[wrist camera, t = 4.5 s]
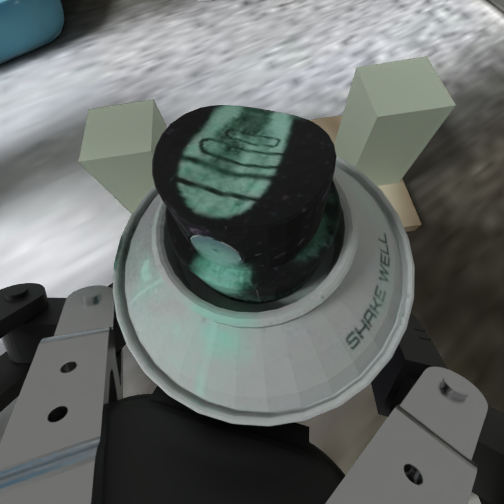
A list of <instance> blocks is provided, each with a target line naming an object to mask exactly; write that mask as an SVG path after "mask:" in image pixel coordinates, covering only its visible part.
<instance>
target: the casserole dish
mask: <svg viewBox="0 0 504 504" xmlns="http://www.w3.org/2000/svg"><path fill="white" fill-rule="evenodd" d="M63 25H64V12H63V8H62V4H61V1H60V0H0V64H1V63H4V62H6V61H9V60H11V59H13V58H16V57H18V56H21V55H23V54H26V53H28V52H30V51H33V50H35V49H37V48H39V47H42V46H44V45H46V44H48V43H50V42H51V41H53V40H54V39H56V38H57V37H58V36H59V35H60V33H61V31H62V28H63Z"/></svg>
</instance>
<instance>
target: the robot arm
mask: <svg viewBox="0 0 504 504" xmlns="http://www.w3.org/2000/svg"><path fill="white" fill-rule="evenodd" d="M0 338H2V340H3V343H4V346H5V348H6V351H7V352H5V353H4V354H2V355H1V356H0V412H1V411H2V410H3V409H4V408H5V407H7V406H8V405H9V404H10V403H11V402H12V401H13V400H14V399H15V398H17V397H18V396H19V397H18V400H17V402H16V405H15V407H14V410H13V412H12V415H11V418H10V420H9V423H8V425H7V428H6V430H5V433H4V435H3V438H2V441H1V443H0V504H468V502H469V498H470V495H471V492H473V493H475V494H476V495H478V497H479V499H480V501H481V504H504V413H502V412H500V411H498V410H496V409H493V408H491V407H489V406H488V404H487V401H486V399H485V398H484V396H483V395H482V393H481V392H480V391H479V390H478V389H477V388H476V387H475V386H474V385H473V384H472V383H471V382H469V381H468V380H467V379H465V378H464V377H462V376H460V375H459V374H457V373H455V372H453V371H451V370H449V369H448V368H447V366H446V364H445V363H444V361H443V359H442V358H441V356H440V354H439V353H438V351H437V349H436V348H435V346H434V344H433V343H432V342H431V341H430V340H431V339H430V338H429V336H428V334H427V333H425V329H424V327H423V326H422V324H421V322H420V321H419V320H418V319H417V318H416V317H415V316H414V315H412V314H411V313H410V317H409V321H408V325H407V329H406V331H405V333H404V335H403V337H402V339H401V341H400V343H399V345H398V347H397V348H396V350H395V352H394V354H393V356H392V358H391V359H390V361H389V362H388V363H387V364H386V365H385V366H384V368H383V369H382V370H381V371H380V372H379V374H378V375H377V376H376V377H375V378H374V379H373V381H372V382H371V384H372V389H373V393H374V397H375V401H376V406H377V410H378V414H380V415H384V416H387V417H388V418H387V419H386V421H385V422H384V423H383V425H382V426H381V428H380V429H379V430H378V432H377V433H376V434H375V436H374V437H373V439H372V440H371V441H370V443H369V444H368V446H367V447H366V448H365V450H364V451H363V452H362V454H361V455H360V457H359V458H358V459H357V461H356V462H355V463H354V465H353V466H352V468H351V469H350V470H349V472H348V473H347V474H346V476H345V474H344V473H343V472H342V470H341V469H340V468H339V467H338V466H337V465H336V464H335V463H334V461H333V460H331V459H330V458H329V457H328V456H327V455H326V454H325V453H324V452H323V451H321V450H320V449H319V448H317V447H316V446H315V445H313V444H312V443H310V442H309V427H308V426H304V425H301V424H298V423H294V422H293V423H287V424H281V425H275V426H257V425H242V424H232V423H228V422H225V421H222V420H219V419H215V418H212V417H209V416H206V415H202V414H199V413H197V412H195V411H194V410H192V409H190V408H189V407H187V406H185V405H184V404H182V403H180V402H178V401H177V400H175V399H173V398H172V397H170V396H168V395H167V394H166V393H165V392H164V391H163V390H162V389H161V388H160V387H159V386H157V387H156V389H155V390H154V392H153V394H142V395H135V396H130V397H126V398H123V347H124V346H125V345H126V342H125V339H124V336H123V334H122V331H121V328H120V326H119V323H118V320H117V316H116V309H115V303H114V296H113V283H112V284H111V285H109V286H108V287H107V286H89V287H85V288H82V289H79V290H77V291H75V292H73V293H72V294H70V295H69V296H68V297H67V298H47V295H46V291H45V288H44V287H43V286H42V285H40V284H35V283H25V284H18V285H13V286H10V287H6V288H4V289H1V290H0Z"/></svg>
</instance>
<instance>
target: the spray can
mask: <svg viewBox="0 0 504 504" xmlns="http://www.w3.org/2000/svg"><path fill="white" fill-rule="evenodd" d="M152 176H153V180H154V184H155V185H154V186H153V187H152V188H151V189H150V190H149V191H148V192H147V193H146V195H145V196H144V197H143V199H142V200H141V202H140V203H139V205H138V206H137V207H136V209H135V210H134V212H133V213H132V215H131V217H130V219H129V221H128V223H127V225H126V228H125V230H124V232H123V234H122V236H121V239H120V243H119V247H118V251H117V254H116V258H115V262H114V276H113V296H114V303H115V309H116V316H117V320H118V323H119V326H120V328H121V331H122V334H123V336H124V339H125V342H126V344H127V347H128V348H129V350H130V351H131V353H132V354H133V356H134V357H135V359H136V360H137V362H138V363H139V365H140V367H141V368H142V370H143V371H144V373H145V374H146V375H147V376H148V377H150V378H151V379H152V380H153V381H154V382H155V383H156V384H157V385H158V386H159V387H160V388H161V389H162V390H163V391H164V392H165V393H166V394H167V395H168V396H170V397H172V398H173V399H175V400H177V401H178V402H180V403H182V404H184V405H185V406H187V407H189V408H190V409H192V410H194V411H195V412H197V413H199V414H202V415H206V416H209V417H212V418H215V419H219V420H222V421H225V422H228V423H232V424H242V425H257V426H275V425H281V424H287V423H293V422H299V421H305V420H308V419H310V418H313V417H315V416H317V415H320V414H322V413H324V412H327V411H329V410H332V409H334V408H336V407H339V406H341V405H342V404H343V403H345V402H346V401H347V400H349V399H350V398H352V397H353V396H354V395H356V394H357V393H358V392H360V391H361V390H362V389H364V388H365V387H367V386H368V385H369V384H370V383H371V382H372V381H373V379H374V378H375V377H376V376H377V375H378V374H379V372H380V371H381V370H382V369H383V368H384V366H385V365H386V364H387V363H388V362H389V361H390V359H391V358H392V356H393V354H394V352H395V350H396V348H397V347H398V345H399V343H400V341H401V339H402V337H403V335H404V333H405V331H406V329H407V325H408V321H409V317H410V313H411V309H412V304H413V300H414V276H415V266H414V262H413V257H412V252H411V247H410V242H409V238H408V236H407V234H406V231H405V229H404V227H403V224H402V222H401V220H400V218H399V215H398V213H397V212H396V210H395V209H394V207H393V206H392V204H391V203H390V202H389V200H388V199H387V197H386V196H385V194H384V193H383V192H382V190H381V189H380V188H379V187H378V186H377V185H375V184H374V183H373V182H372V181H371V180H370V179H369V178H368V177H367V176H366V175H365V174H364V173H363V172H362V171H360V170H359V169H357V168H356V167H354V166H353V165H351V164H350V163H348V162H347V161H346V160H344V159H343V158H340V157H338V156H336V151H335V146H334V143H333V142H332V140H331V138H330V136H329V135H328V134H327V132H326V131H325V130H323V129H322V128H321V127H320V126H319V125H317V124H315V123H314V122H312V121H310V120H307V119H304V118H301V117H298V116H294V115H290V114H285V113H280V112H275V111H269V110H263V109H257V108H251V107H243V106H230V105H216V106H208V107H203V108H199V109H196V110H194V111H191V112H189V113H186V114H184V115H183V116H181V117H180V118H178V119H177V120H176V121H174V122H173V123H171V124H170V125H169V127H168V128H167V129H166V130H165V131H164V132H163V133H162V135H161V137H160V139H159V141H158V143H157V145H156V147H155V151H154V155H153V159H152Z"/></svg>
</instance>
